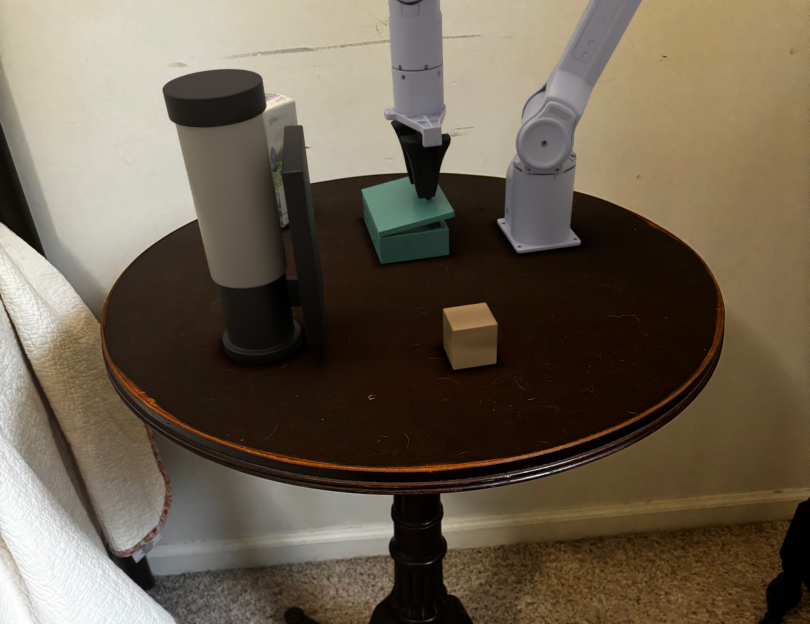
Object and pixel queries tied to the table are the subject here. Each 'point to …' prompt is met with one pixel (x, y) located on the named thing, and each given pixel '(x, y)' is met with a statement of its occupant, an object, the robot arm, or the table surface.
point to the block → (470, 336)
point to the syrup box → (278, 141)
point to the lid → (403, 207)
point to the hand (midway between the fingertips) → (422, 189)
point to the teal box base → (409, 241)
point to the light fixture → (249, 213)
